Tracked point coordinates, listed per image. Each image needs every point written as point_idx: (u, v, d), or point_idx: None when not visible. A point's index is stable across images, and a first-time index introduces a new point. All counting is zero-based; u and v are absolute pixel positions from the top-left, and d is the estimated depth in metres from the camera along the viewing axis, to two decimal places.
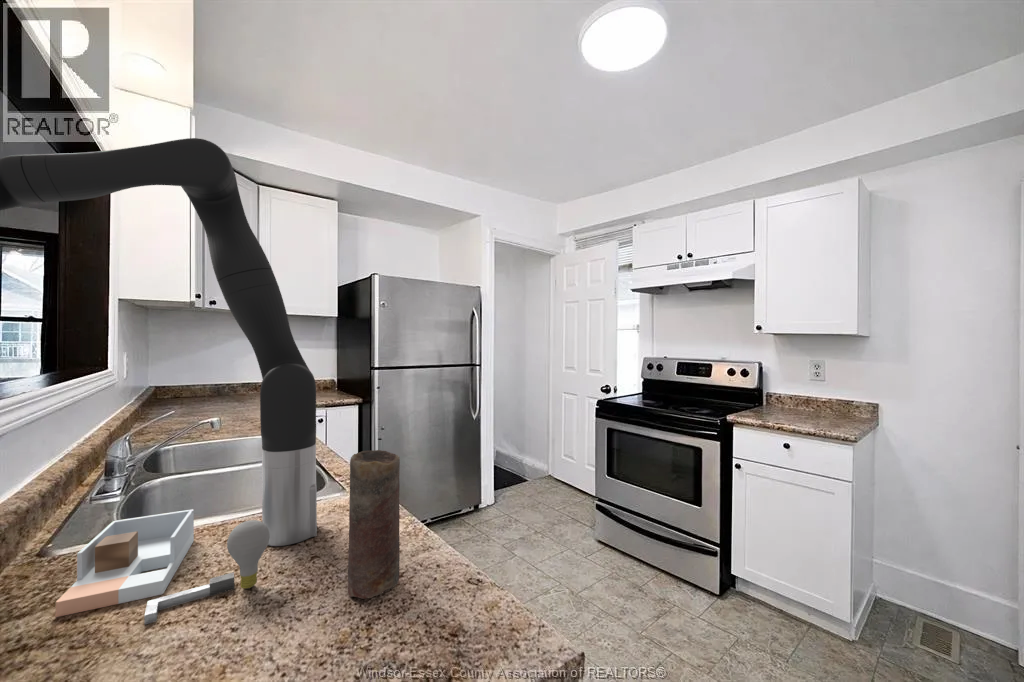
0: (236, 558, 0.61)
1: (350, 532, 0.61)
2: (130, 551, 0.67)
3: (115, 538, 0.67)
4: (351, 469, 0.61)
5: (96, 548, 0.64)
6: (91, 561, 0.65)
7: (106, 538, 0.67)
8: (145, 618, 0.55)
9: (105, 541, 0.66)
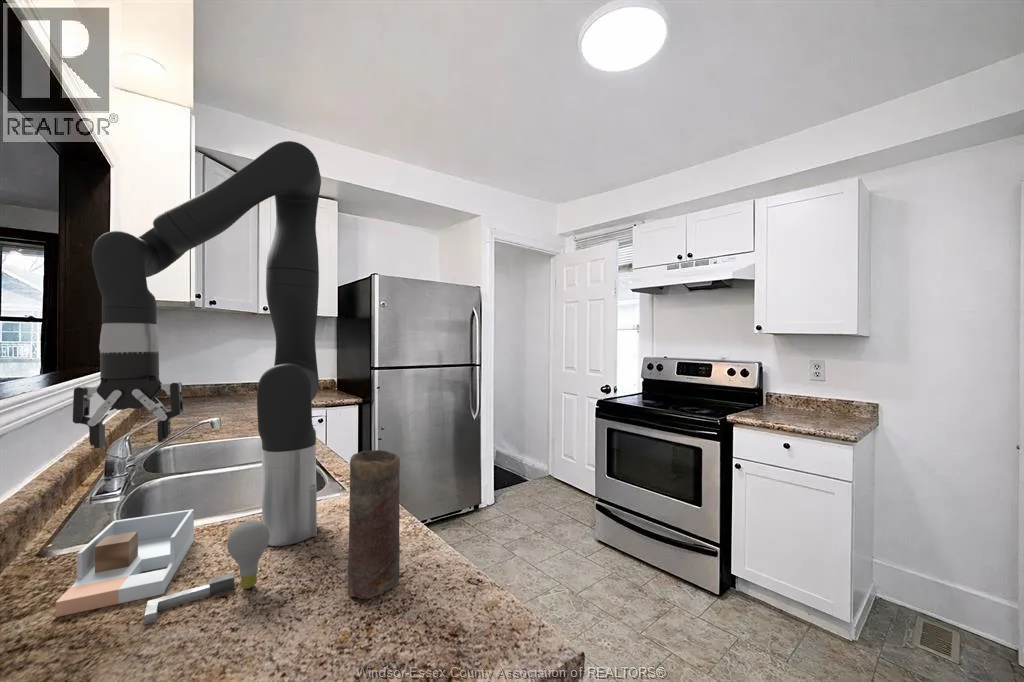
0: (236, 558, 0.61)
1: (350, 532, 0.61)
2: (130, 551, 0.67)
3: (115, 538, 0.67)
4: (351, 469, 0.61)
5: (96, 548, 0.64)
6: (91, 561, 0.65)
7: (106, 538, 0.67)
8: (145, 618, 0.55)
9: (105, 541, 0.66)
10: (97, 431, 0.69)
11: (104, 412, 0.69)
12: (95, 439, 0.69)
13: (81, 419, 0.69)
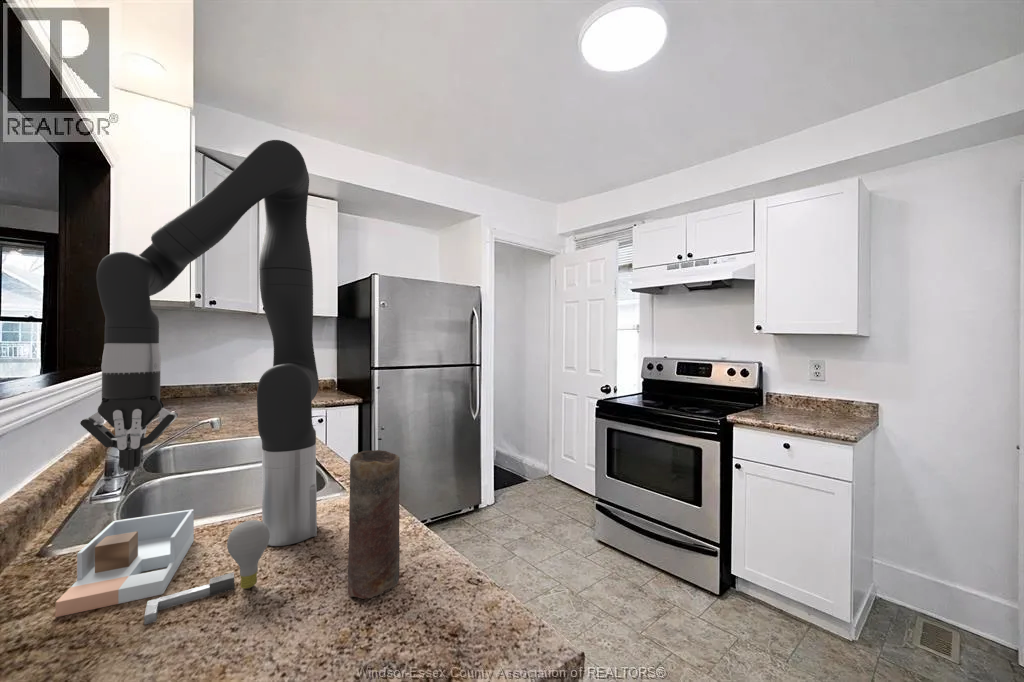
0: (236, 558, 0.61)
1: (350, 532, 0.61)
2: (130, 551, 0.67)
3: (115, 538, 0.67)
4: (351, 469, 0.61)
5: (96, 548, 0.64)
6: (91, 561, 0.65)
7: (106, 538, 0.67)
8: (145, 618, 0.55)
9: (105, 541, 0.66)
10: (126, 454, 0.71)
11: (123, 433, 0.71)
12: (124, 462, 0.71)
13: (112, 443, 0.70)
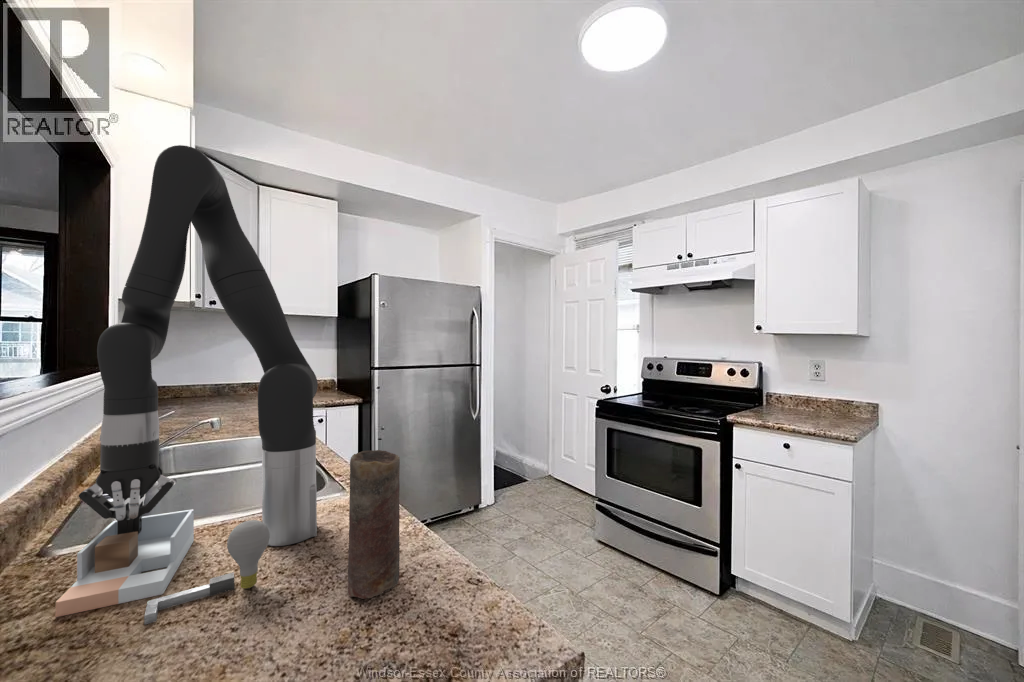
0: (236, 558, 0.61)
1: (350, 532, 0.61)
2: (130, 551, 0.67)
3: (115, 538, 0.67)
4: (351, 469, 0.61)
5: (96, 548, 0.64)
6: (91, 561, 0.65)
7: (106, 538, 0.67)
8: (145, 618, 0.55)
9: (105, 541, 0.66)
10: (125, 525, 0.71)
11: (121, 504, 0.70)
12: (123, 533, 0.71)
13: (110, 514, 0.70)
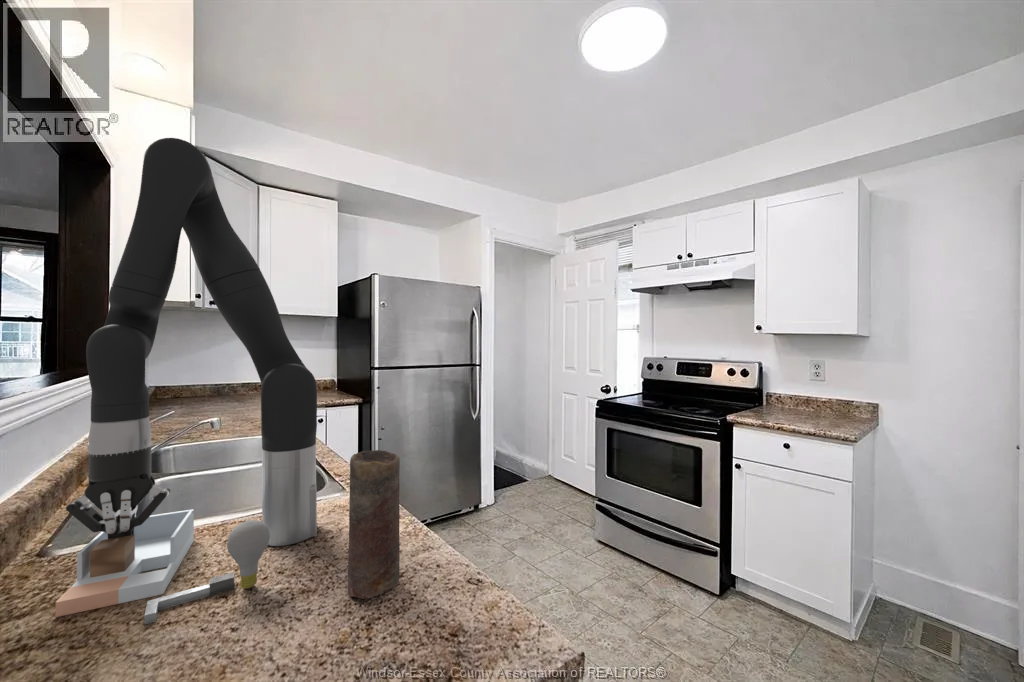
0: (236, 558, 0.61)
1: (350, 532, 0.61)
2: (126, 556, 0.65)
3: (111, 542, 0.66)
4: (351, 469, 0.61)
5: (91, 552, 0.63)
6: None
7: (102, 542, 0.66)
8: (145, 618, 0.55)
9: (100, 545, 0.65)
10: None
11: (111, 516, 0.66)
12: None
13: (100, 527, 0.66)
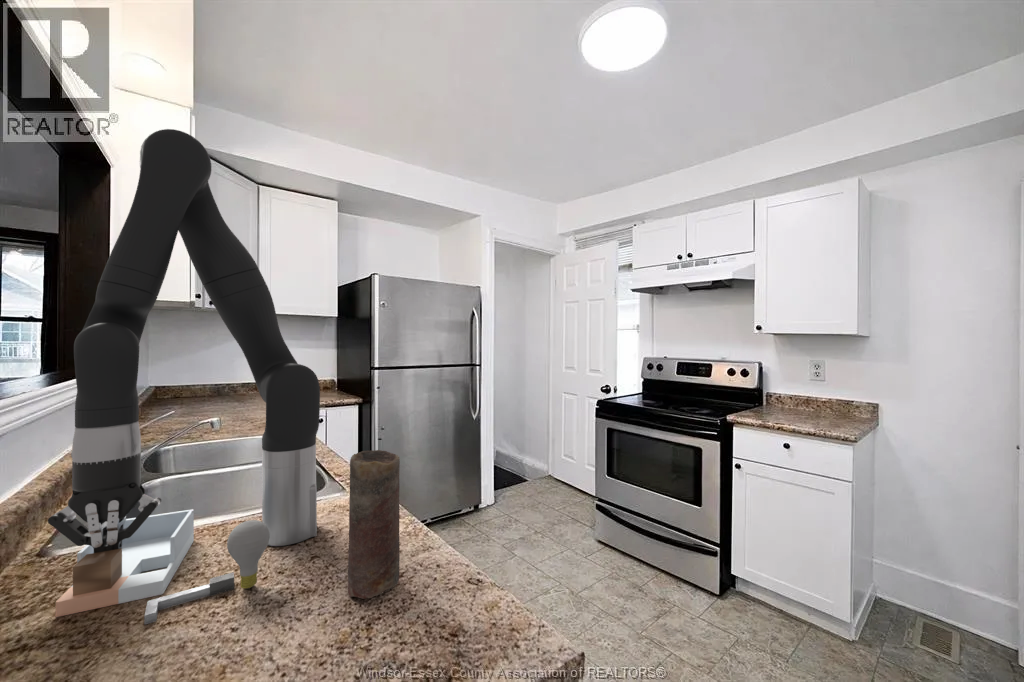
0: (236, 558, 0.61)
1: (350, 532, 0.61)
2: (113, 571, 0.61)
3: (96, 557, 0.61)
4: (351, 469, 0.61)
5: (74, 568, 0.58)
6: None
7: (86, 556, 0.61)
8: (145, 618, 0.55)
9: (84, 560, 0.60)
10: None
11: (97, 528, 0.62)
12: None
13: (85, 540, 0.62)
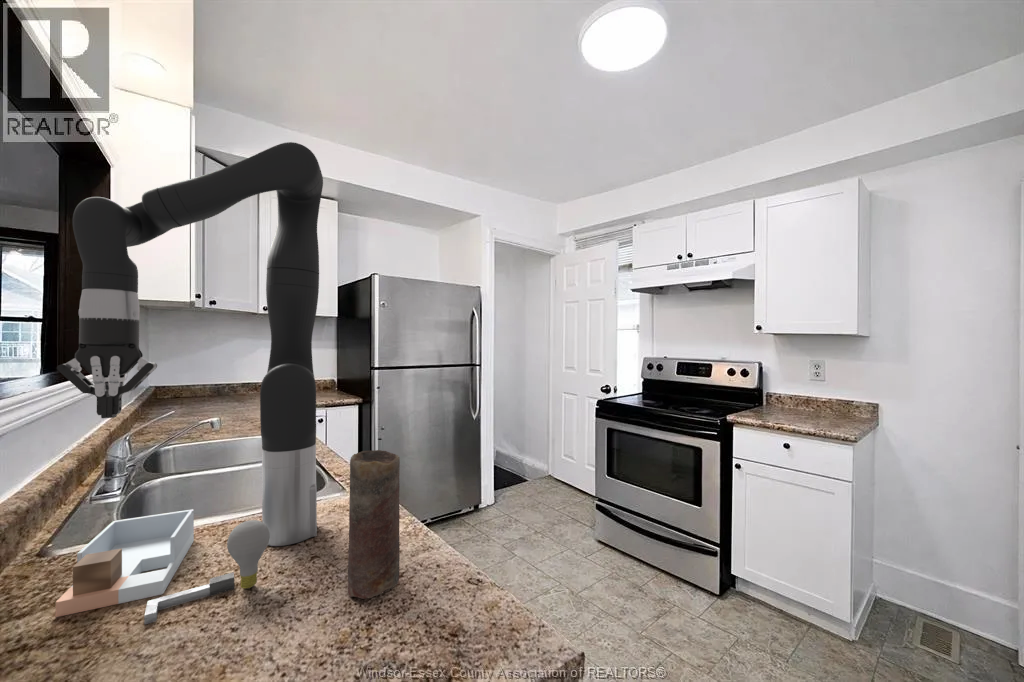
0: (236, 558, 0.61)
1: (350, 532, 0.61)
2: (113, 571, 0.61)
3: (96, 557, 0.61)
4: (351, 469, 0.61)
5: (74, 568, 0.58)
6: None
7: (86, 556, 0.61)
8: (145, 618, 0.55)
9: (84, 560, 0.60)
10: (104, 401, 0.71)
11: (101, 379, 0.71)
12: (102, 409, 0.71)
13: (89, 389, 0.70)
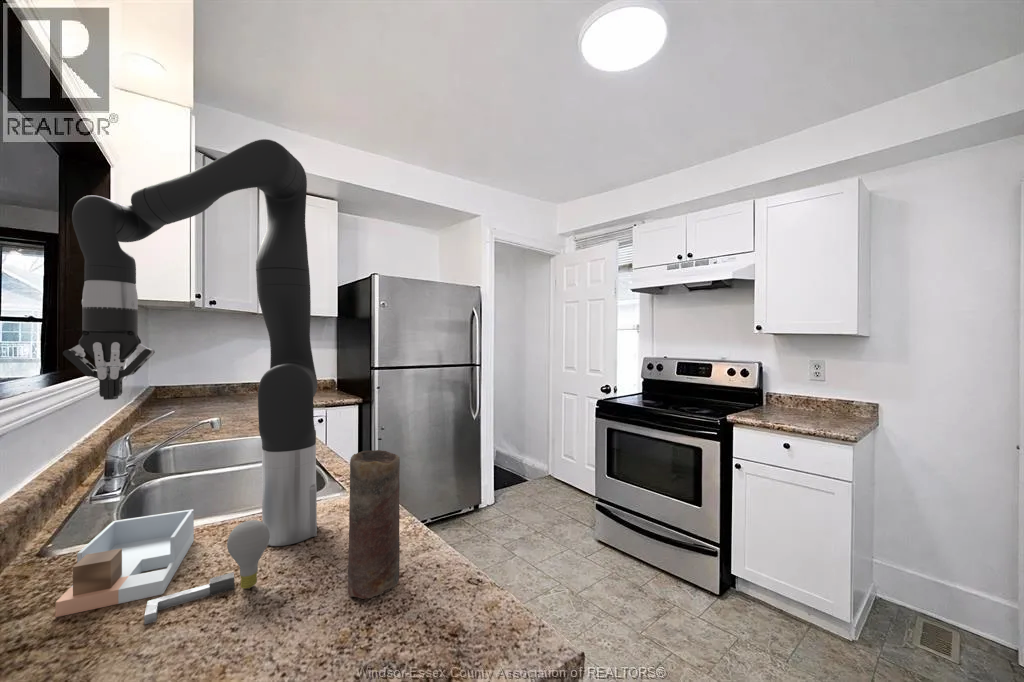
0: (236, 558, 0.61)
1: (350, 532, 0.61)
2: (113, 571, 0.61)
3: (96, 557, 0.61)
4: (351, 469, 0.61)
5: (74, 568, 0.58)
6: None
7: (86, 556, 0.61)
8: (145, 618, 0.55)
9: (84, 560, 0.60)
10: (106, 384, 0.77)
11: (102, 364, 0.77)
12: (104, 391, 0.77)
13: (92, 372, 0.76)
